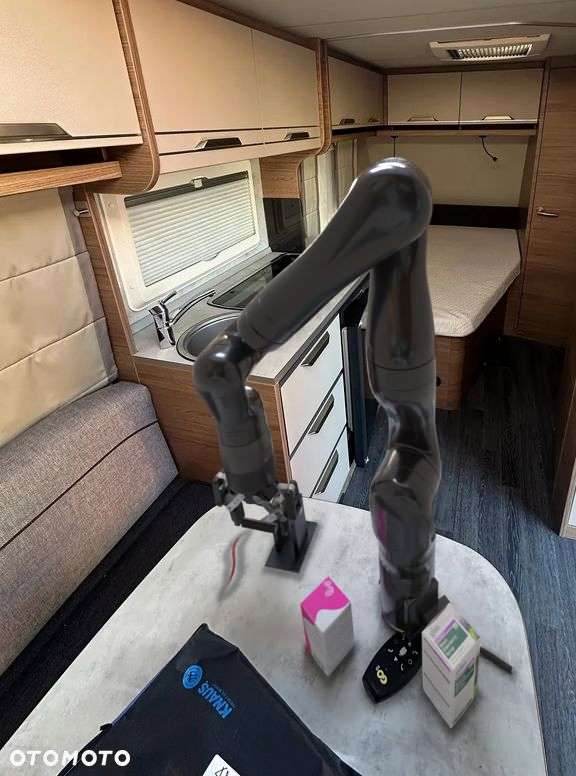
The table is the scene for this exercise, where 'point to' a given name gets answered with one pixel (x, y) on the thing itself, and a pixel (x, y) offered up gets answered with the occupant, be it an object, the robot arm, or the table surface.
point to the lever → (262, 523)
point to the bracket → (292, 543)
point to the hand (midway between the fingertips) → (263, 525)
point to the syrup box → (450, 663)
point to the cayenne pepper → (233, 560)
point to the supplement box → (328, 625)
